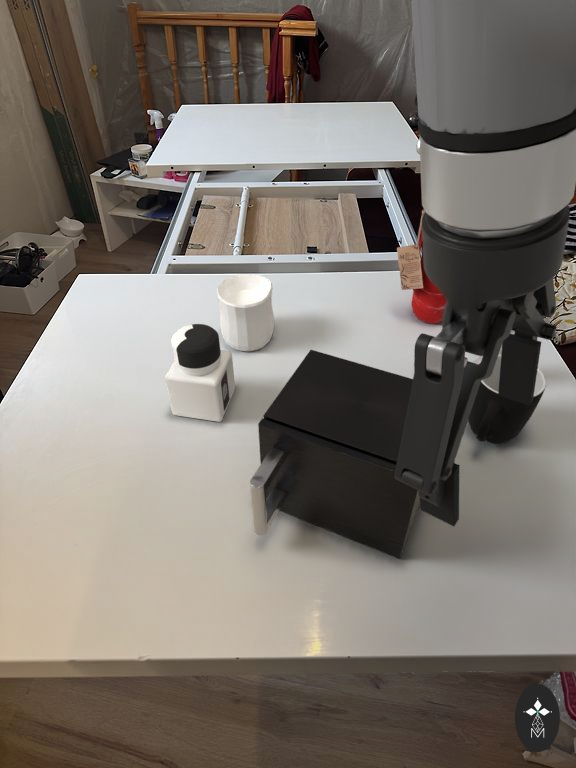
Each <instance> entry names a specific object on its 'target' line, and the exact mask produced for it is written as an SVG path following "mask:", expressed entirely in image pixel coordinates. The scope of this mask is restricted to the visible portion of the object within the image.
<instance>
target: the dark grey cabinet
mask: <svg viewBox="0 0 576 768" xmlns="http://www.w3.org/2000/svg"><path fill="white" fill-rule="evenodd" d="M412 382H413V378H410V377H407V376H404V375H400V374H397V373H393V372H390V371H388V370H387V371H386V370H383V369H379V368H376V367H373V366H370V365H366V364H362V363H359V362H356V361H352V360H349V359H346V358H342V357H338V356H335V355H331V354H327V353H324V352H321V351H317V350H314V349H310V350H309V351H308V353H307V354H306V355H305V356H304V358H303V360H302V361H301V362H300V364H299V365H298V367H297V368H296V369H295V371H294V372H293V373H292V375H291V376H290V378H289V379H288V381H287V382H286V383H285V385H284V386H283V387H282V388H281V390H280V391H279V392H278V394H277V395H276V397H275V398H274V400H273V401H272V403H271V404H270V405H269V407H268V408H267V410H266V411H265V412H264V414H263V417H262V418H263V419H266V420H269V421H272V422H274V423H277V424H280V425H283V426H286V427H289V428H292V429H295V430H298V431H300V432H303V433H306V434H309V435H312V436H315V437H318V438H321V439H324V440H326V441H329V442H332V443H335V444H338V445H341V446H344V447H347V448H350V449H352V450H355V451H358V452H361V453H364V454H367V455H370V456H373V457H376V458H378V459H381V460H384V461H387V462H390V463H393V464H397V459H398V454H399V449H400V443H401V438H402V433H403V428H404V423H405V418H406V413H407V408H408V402H409V397H410V392H411V387H412ZM419 507H420V497H419V495H417V498H416V502H415V506H414V510H413V513H412V517H411V521H410V525H409V529H408V532H407V536H406V540H405V544H404V548H403V550H404V549H405V547H406V543H407V540H408V537H409V535H410V532H411V529H412V526H413V523H414V522H415V521H414V520H415V517H416V515H417V512H418V509H419Z"/></svg>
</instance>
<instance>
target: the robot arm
mask: <svg viewBox="0 0 576 768" xmlns="http://www.w3.org/2000/svg"><path fill="white" fill-rule="evenodd" d="M410 1H411V19H412V35H413V51H414V66H415V67H414V68H415V85H416V99H417V100H416V101H417V118H418V119H417V129H418V135H419V138H418V140H417V142H416V145H415V146H416V147H415V149H416V153H417V154H418V155H419V160H420V163H419V165H420V187H421V188H420V189H421V206H422V208H423V210H425V213H424V215H423V217H422V216H421V217H422V230H421V233H422V238H423V242H422V246H423V260H424V269H425V272H426V275H427V276H428V278H429V279H430V281H431V282H432V283H433V284H434V285H435V286H436V287H437V288H438V289H439V290H440V291H441V293H442V294H443V295H444V297H445V298H446V300H447V302H446V305H445V308H444V312H443V315H442V321H441V323H442V324H441V327H442V329H441V331H440V332H439V333H438V334H437V335H436V336H434V335H430V334H426V333H421V334H419V336H418V337H417V338H416V340H415V343H414V350H413V351H414V352H413V353H414V355H413V356H414V358H413V359H414V360H413V361H414V362H413V363H414V365H413V369H414V370H413V371H414V372H413V377H412V379H413V382H412V387H411V392H410V397H409V402H408V408H407V413H406V418H405V423H404V428H403V433H402V438H401V443H400V449H399V454H398V459H397V464H396V469H395V474H394V478H395V479H396V480H398V481H400V482H402V483H404V484H407V485H409V486H411V487H413V488H415V489H417V490H418V495H419V497H420V504H419V507H420V509H419V510H420V511H421V512H424V513H426V514H427V515H430V516H431V517H434V518H436V519H437V520H440V521H442V522H443V523H445V524H448V525H450V526H451V527H454V528H455V527H456V524H457V523H458V521H459V520H460V465H459V464H458V463H455V461H456V457H457V454H458V451H459V448H460V446H461V443H462V440H463V436H464V433H465V430H466V427H467V424H468V423H469V422H468V418H469V415H470V412H471V409H472V406H473V403H474V400H475V397H476V394H477V391H478V388H479V385H480V382H481V381H482V380H483V379H486V378H489V377H490V376H491V374H492V372H493V369H494V366H495V363H496V360H497V357H498V354H499V351H500V348H501V346H502V354H501V366H500V379H499V391H498V395H499V396H502V397H505V398H508V399H511V400H514V401H517V402H520V403H523V404H526V405H529V406H530V404H531V402H532V401H533V397H534V390H535V383H536V376H537V369H539V362H540V354H541V347H542V341H541V340H538V338H540V339H544V340H548V341H552V340H553V339H554V337H555V334H556V332H557V325H556V324H553V323H549V322H546V321H545V318H549V319H551V318H552V317H553V315H555V313H556V311H557V301H556V300H557V299H556V291H555V284H554V278H555V277H556V276H557V274H558V273H559V272H560V269H561V267H562V265H563V261H564V255H565V248H566V243H567V236H568V229H569V225H570V224H569V223H570V216H571V209H570V205H569V204H570V203H571V202H572V200H573V198H574V197H575V191H576V0H410ZM511 330H513V331H515V334H510V332H511ZM466 353H468V354H470V355H474V356H478V357H480V356H483V357H482V360H481V362H480V364H476V363H474V362H473V361H469V359H468V357H466Z"/></svg>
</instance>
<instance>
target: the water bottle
mask: <svg viewBox="0 0 576 768" xmlns="http://www.w3.org/2000/svg"><path fill="white" fill-rule="evenodd" d="M424 213H425V210H424V209H422V210H421V218H420V222H419V228H418V234H417V240H416V244H409V245H403V246H398V247H396V252H397V261H398V271H399V279H400V288H401V291H408V290H412V298H411V303H410V304H411V309H412V313H413V315H414V316H415V317H416V318H417V320H420V321H421V322H424V323H426V324H438V323H442V315H443V312H444V308H445V305H446V302H447V300H446V298H445V297H444V295H443V294H442V293H441V291H440V290H439V289H438V288H437V287H436V286H435V285H434V284H433V283H432V282H431V281H430V279H429V278H428V276H427V275H426V272H425V269H424V260H423V238H422V217H423V215H424Z"/></svg>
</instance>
